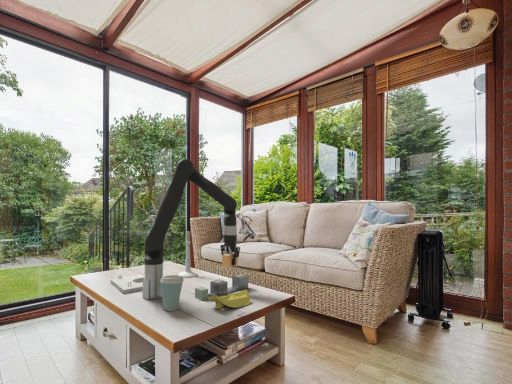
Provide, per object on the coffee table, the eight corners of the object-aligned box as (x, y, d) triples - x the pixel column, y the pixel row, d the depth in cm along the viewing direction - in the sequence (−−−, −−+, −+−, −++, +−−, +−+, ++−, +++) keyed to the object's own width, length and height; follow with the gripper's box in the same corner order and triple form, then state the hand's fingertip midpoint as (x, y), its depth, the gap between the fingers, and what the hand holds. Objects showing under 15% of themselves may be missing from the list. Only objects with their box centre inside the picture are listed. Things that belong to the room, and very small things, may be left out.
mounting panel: (176, 276, 178) (123, 285, 159) (176, 285, 178) (123, 294, 159) (158, 268, 199) (110, 275, 179) (158, 276, 198) (110, 284, 179)
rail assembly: (214, 299, 151) (214, 284, 151) (205, 296, 155) (205, 282, 156) (249, 288, 170) (249, 275, 170) (240, 285, 175) (240, 273, 175)
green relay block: (201, 300, 149) (201, 290, 149) (194, 297, 153) (195, 288, 153) (208, 298, 152) (208, 288, 152) (201, 296, 156) (201, 286, 156)
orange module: (228, 266, 160) (228, 255, 160) (222, 265, 163) (222, 254, 163) (237, 264, 165) (237, 253, 165) (231, 263, 168) (231, 252, 169)
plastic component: (235, 293, 153) (248, 288, 147) (239, 308, 150) (251, 303, 144) (204, 299, 139) (216, 294, 133) (207, 315, 136) (220, 311, 130)
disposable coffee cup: (158, 306, 140) (158, 274, 141) (181, 303, 144) (181, 272, 145) (160, 314, 130) (161, 279, 131) (185, 310, 135) (185, 277, 135)
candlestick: (186, 278, 190) (186, 232, 191) (173, 275, 197) (174, 230, 198) (201, 275, 200) (201, 230, 201) (188, 272, 208) (189, 229, 209)
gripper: (216, 233, 167) (216, 263, 166) (234, 235, 157) (234, 267, 156) (226, 232, 172) (226, 261, 172) (244, 234, 163) (243, 265, 162)
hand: (230, 264), depth 164 cm, fingers closed on orange module, 5 cm apart
